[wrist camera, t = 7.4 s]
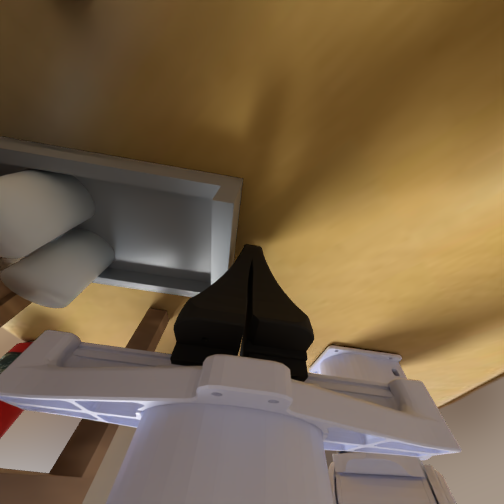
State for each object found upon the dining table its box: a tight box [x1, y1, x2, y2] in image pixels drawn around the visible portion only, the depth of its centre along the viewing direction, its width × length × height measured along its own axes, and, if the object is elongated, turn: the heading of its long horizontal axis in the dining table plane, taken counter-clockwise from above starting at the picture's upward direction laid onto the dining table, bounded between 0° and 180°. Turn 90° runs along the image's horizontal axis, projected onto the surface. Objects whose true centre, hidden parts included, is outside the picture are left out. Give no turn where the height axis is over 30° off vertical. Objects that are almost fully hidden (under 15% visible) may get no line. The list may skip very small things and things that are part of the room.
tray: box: [0, 136, 243, 308], centre depth 12 cm, size 16×10×5 cm, turn 82°
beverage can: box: [0, 341, 34, 438], centre depth 25 cm, size 7×7×12 cm
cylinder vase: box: [82, 425, 137, 504], centre depth 26 cm, size 12×12×25 cm
